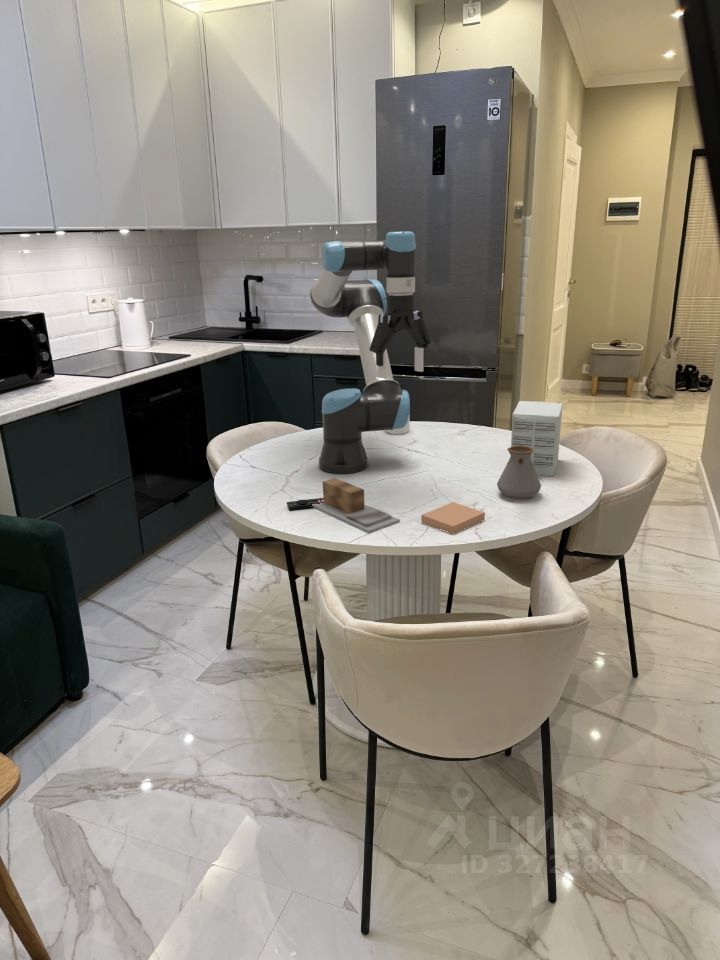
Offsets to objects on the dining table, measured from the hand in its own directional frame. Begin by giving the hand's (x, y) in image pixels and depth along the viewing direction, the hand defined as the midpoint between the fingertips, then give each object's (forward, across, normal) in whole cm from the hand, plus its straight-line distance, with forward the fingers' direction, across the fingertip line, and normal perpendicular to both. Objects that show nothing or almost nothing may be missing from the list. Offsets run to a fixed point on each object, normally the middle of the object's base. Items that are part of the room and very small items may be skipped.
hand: (401, 374), depth 183 cm
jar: (+31, +35, +40) cm, 61 cm away
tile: (+30, -11, -26) cm, 41 cm away
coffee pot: (+31, +11, -33) cm, 47 cm away
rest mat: (+31, -26, -10) cm, 41 cm away
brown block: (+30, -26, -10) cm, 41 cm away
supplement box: (+31, +38, -18) cm, 52 cm away
